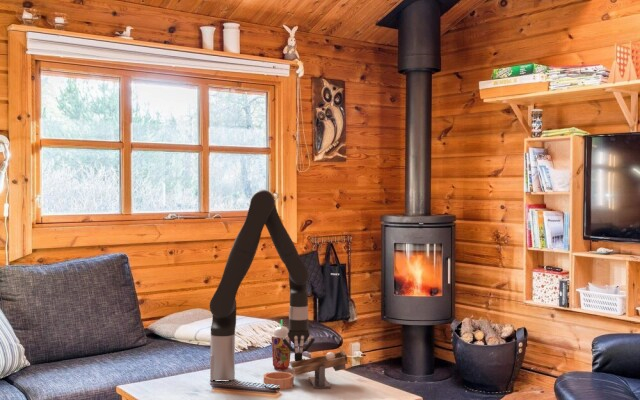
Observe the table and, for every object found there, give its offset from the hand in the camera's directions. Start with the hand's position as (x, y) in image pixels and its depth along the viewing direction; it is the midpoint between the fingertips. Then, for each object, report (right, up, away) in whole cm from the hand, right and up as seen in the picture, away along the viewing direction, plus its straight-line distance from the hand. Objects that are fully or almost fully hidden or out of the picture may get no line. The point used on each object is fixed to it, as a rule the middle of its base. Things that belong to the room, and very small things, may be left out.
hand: (298, 362), depth 278 cm
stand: (+8, -7, -7) cm, 13 cm away
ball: (+12, +4, -7) cm, 14 cm away
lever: (+8, -2, -3) cm, 9 cm away
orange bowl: (-7, -6, -10) cm, 14 cm away
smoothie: (-7, -6, +16) cm, 19 cm away
